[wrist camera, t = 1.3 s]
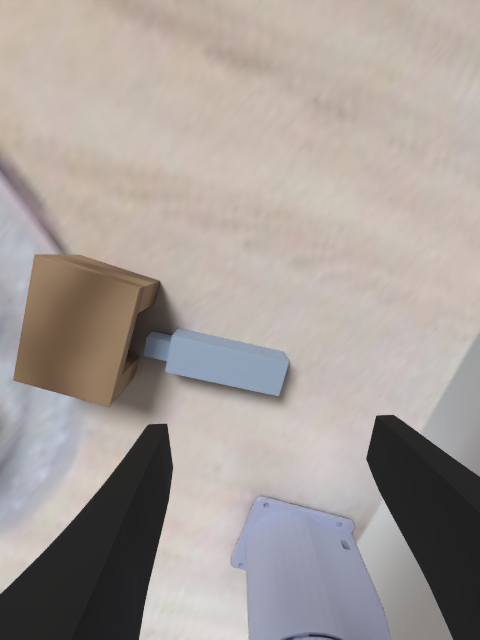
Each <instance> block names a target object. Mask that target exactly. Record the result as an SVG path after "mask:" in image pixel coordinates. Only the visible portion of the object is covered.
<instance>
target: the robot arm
mask: <svg viewBox="0 0 480 640" xmlns="http://www.w3.org/2000/svg"><path fill="white" fill-rule="evenodd" d="M366 459H367V462H368V465H369V467H370V470H371V472H372V475H373V477H374V480H375V482H376V485H377V487H378V489H379V491H380V493H381V495H382V497H383V499H384V501H385V503H386V505H387V506H388V508H389V510H390V512H391V514H392V516H393V518H394V520H395V522H396V523H397V525H398V527H399V529H400V531H401V533H402V534H403V536H404V538H405V540H406V542H407V544H408V546H409V547H410V549H411V551H412V553H413V555H414V557H415V558H416V560H417V562H418V564H419V566H420V568H421V570H422V572H423V574H424V576H425V578H426V580H427V582H428V584H429V586H430V588H431V590H432V592H433V595H434V597H435V599H436V601H437V604H438V606H439V608H440V610H441V613H442V615H443V617H444V619H445V622H446V624H447V626H448V628H449V631H450V633H451V635H452V637H453V640H480V477H479V476H478V475H476V474H475V473H473V472H472V471H470V470H469V469H468V468H466V467H465V466H463V465H462V464H461V463H459V462H458V461H456V460H455V459H454V458H452V457H451V456H449V455H448V454H447V453H445V452H444V451H443V450H441V449H440V448H438V447H437V446H436V445H434V444H433V443H432V442H430V441H429V440H428V439H426V438H425V437H424V436H422V435H421V434H420V433H418V432H417V431H415V430H414V429H413V428H411V427H410V426H409V425H407V424H406V423H404V422H403V421H402V420H400V419H399V418H397V417H396V416H394V415H380V416H376V419H375V424H374V428H373V432H372V436H371V441H370V445H369V449H368V454H367V458H366ZM172 472H173V464H172V456H171V449H170V441H169V434H168V427H167V424H149V425H148V426H147V427H146V428H145V429H144V431H143V432H142V434H141V435H140V436H139V438H138V439H137V441H136V442H135V444H134V445H133V446H132V448H131V449H130V450H129V452H128V453H127V455H126V456H125V457H124V459H123V460H122V461H121V463H120V464H119V465H118V466H117V468H116V469H115V470H114V472H113V473H112V474H111V475H110V477H109V478H108V479H107V481H106V482H105V483H104V484H103V486H102V487H101V488H100V489H99V490H98V492H97V493H96V494H95V495H94V496H93V498H92V499H91V500H90V501H89V502H88V503H87V505H86V506H85V507H84V508H83V509H82V510H81V512H80V513H79V514H78V515H77V516H76V517H75V519H74V520H73V521H72V522H71V523H70V524H69V525H68V526H67V527H66V528H65V530H64V531H63V532H62V533H61V534H60V535H59V536H58V537H57V538H56V539H55V540H54V541H53V542H52V543H51V544H50V546H49V547H48V548H47V549H46V550H45V551H44V552H43V553H42V554H41V555H40V556H39V557H38V558H37V559H36V560H35V561H34V562H33V563H32V564H31V565H30V566H29V567H28V568H27V569H26V570H25V571H24V572H23V573H22V574H21V575H20V576H19V577H18V578H17V579H16V580H15V581H14V582H13V583H12V584H11V585H10V586H9V587H7V588H6V589H5V590H4V591H3V592H2V593H1V594H0V640H139V635H140V629H141V623H142V617H143V611H144V605H145V600H146V595H147V590H148V585H149V581H150V577H151V573H152V569H153V564H154V560H155V556H156V552H157V548H158V544H159V539H160V535H161V531H162V527H163V523H164V518H165V514H166V510H167V505H168V501H169V494H170V487H171V480H172ZM265 503H268V504H265ZM338 522H339V523H338ZM354 527H355V525H354V523H353V521H352V520H350V519H347V518H343V517H339V516H335V515H332V514H328V513H324V512H320V511H316V510H313V509H309V508H305V507H301V506H297V505H293V504H290V503H286V502H282V501H278V500H274V499H271V498H267V497H263V496H259V497H257V498H256V499H255V502H254V504H253V507H252V509H251V511H250V514H249V516H248V519H247V521H246V524H245V526H244V528H243V531H242V533H241V536H240V538H239V541H238V543H237V545H236V548H235V550H234V553H233V555H232V558H231V566H233V567H235V568H239V569H243V570H246V581H247V607H248V633H249V640H390V634H389V628H388V624H387V619H386V616H385V612H384V609H383V607H382V604H381V602H380V599H379V597H378V594H377V592H376V590H375V587H374V585H373V583H372V580H371V578H370V575H369V573H368V571H367V568H366V566H365V564H364V561H363V559H362V557H361V554H360V552H359V550H358V547H357V545H356V542H355V540H354V538H353V535H352V532H353V530H354Z"/></svg>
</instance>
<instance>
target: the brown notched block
mask: <svg viewBox="0 0 480 640" xmlns="http://www.w3.org/2000/svg"><path fill="white" fill-rule="evenodd" d="M159 283H160V281H158V280H155V279H152V278H149V277H146V276H143V275H140V274H136V273H133V272H130V271H127V270H124V269H121V268H118V267H115V266H112V265H109V264H106V263H103V262H99V261H96V260H93V259H90V258H87V257H84V256H81V255H34V261H33V267H32V273H31V279H30V285H29V291H28V296H27V302H26V308H25V314H24V320H23V326H22V332H21V338H20V343H19V349H18V355H17V361H16V367H15V373H14V379H13V381H17V382H21V383H24V384H28V385H31V386H35V387H39V388H42V389H46V390H49V391H53V392H56V393H60V394H64V395H67V396H71V397H74V398H78V399H82V400H85V401H89V402H92V403H96V404H100V405H103V406H107V407H110V406H111V404H112V403H113V402H114V401H115V399H116V398H117V397H118V396H119V395H120V393H121V392H122V391H123V390H124V389H125V387H126V386H127V385H128V384H129V382H130V381H131V380H132V379H133V378H134V375H135V372H136V368H137V364H138V360H139V356H136V355H133V354H129V353H128V350H129V346H130V342H131V338H132V334H133V330H134V326H135V322H136V319H137V315H138V313H140V312H141V311H143V310H145V309H146V308H148V307H149V306H151V305H153V304H154V301H155V297H156V294H157V290H158V286H159Z"/></svg>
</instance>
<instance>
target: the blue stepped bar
mask: <svg viewBox="0 0 480 640" xmlns="http://www.w3.org/2000/svg"><path fill="white" fill-rule="evenodd" d="M143 356H145V357H150V358H154V359H159V360H163V361H167V364H166V369H165V372H167V373H172V374H176V375H181V376H186V377H190V378H195V379H200V380H204V381H209V382H214V383H218V384H223V385H228V386H232V387H237V388H242V389H247V390H251V391H256V392H261V393H265V394H270V395H275V396H279V394H280V391H281V388H282V384H283V381H284V378H285V374H286V371H287V367H288V364H289V360H288V358H287V356H286V354H285V353H284V352H283V351H279V350H274V349H270V348H265V347H261V346H256V345H252V344H247V343H243V342H239V341H234V340H230V339H225V338H221V337H216V336H212V335H207V334H203V333H199V332H194V331H190V330H185V329H181V328H178V329H177V330H176V331H175V332H174V334H173V335H167V334H163V333H158V332H154V331H152V332H151V333H150V334H149V335H148V336H147V338H146V344H145V350H144V355H143Z"/></svg>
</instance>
